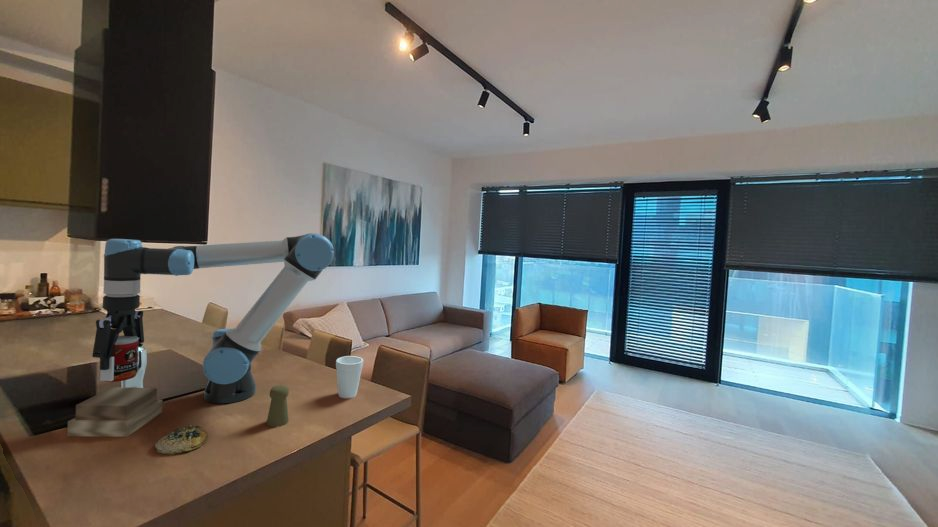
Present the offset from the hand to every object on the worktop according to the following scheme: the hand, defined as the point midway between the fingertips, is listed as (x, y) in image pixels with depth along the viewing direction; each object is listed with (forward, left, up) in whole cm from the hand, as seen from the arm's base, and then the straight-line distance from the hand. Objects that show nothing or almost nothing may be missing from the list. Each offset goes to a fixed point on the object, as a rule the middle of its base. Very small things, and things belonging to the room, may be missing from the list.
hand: (119, 374), depth 105 cm
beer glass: (+10, -20, -14) cm, 27 cm away
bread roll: (-23, +10, -15) cm, 29 cm away
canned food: (0, 0, -1) cm, 1 cm away
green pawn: (-42, -2, -14) cm, 45 cm away
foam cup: (-59, -23, -14) cm, 65 cm away
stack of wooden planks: (0, 0, -14) cm, 14 cm away
